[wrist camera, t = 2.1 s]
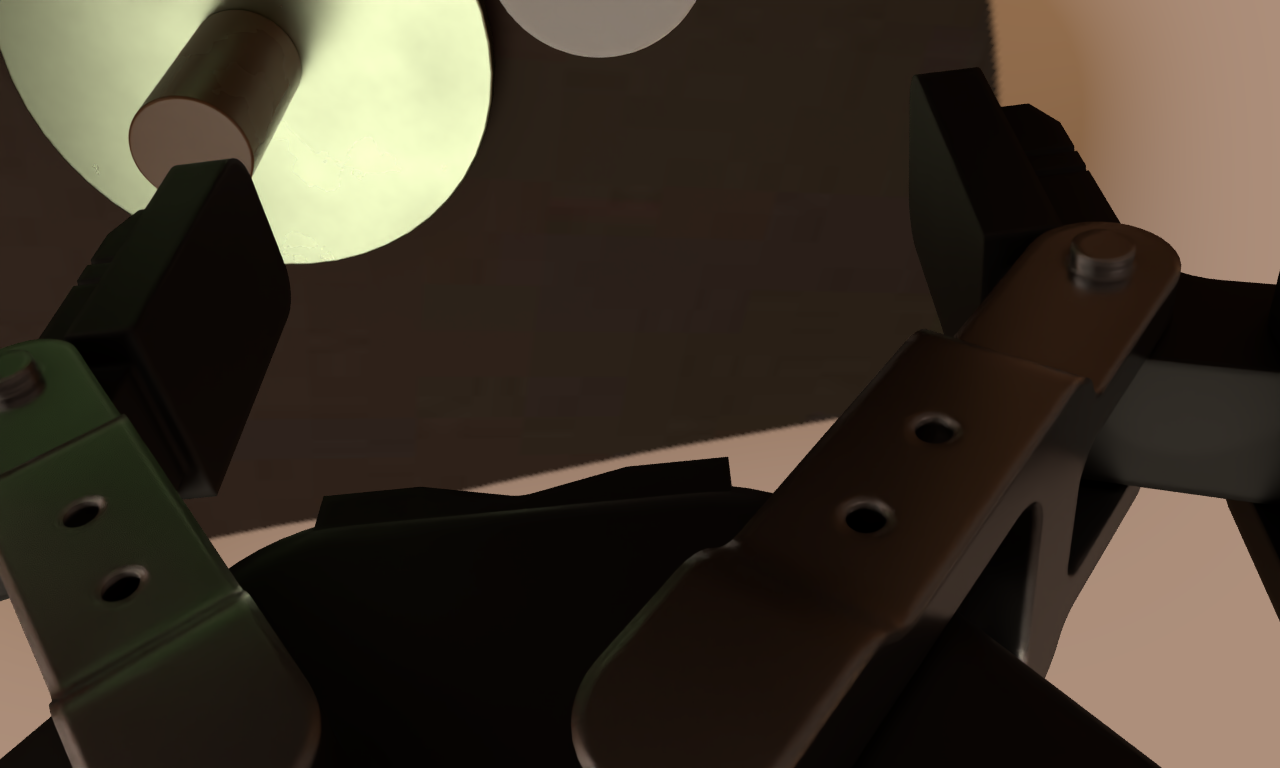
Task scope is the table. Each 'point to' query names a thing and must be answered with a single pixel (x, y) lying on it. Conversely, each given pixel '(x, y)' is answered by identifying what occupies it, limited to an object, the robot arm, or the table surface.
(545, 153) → the table surface
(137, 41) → the lid
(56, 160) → the table surface
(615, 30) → the pill bottle
